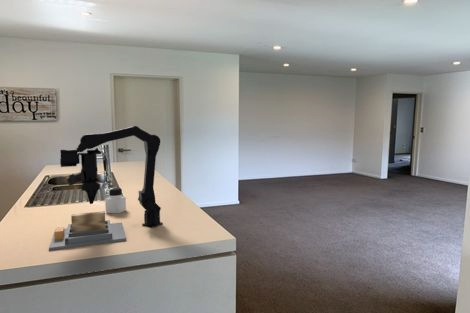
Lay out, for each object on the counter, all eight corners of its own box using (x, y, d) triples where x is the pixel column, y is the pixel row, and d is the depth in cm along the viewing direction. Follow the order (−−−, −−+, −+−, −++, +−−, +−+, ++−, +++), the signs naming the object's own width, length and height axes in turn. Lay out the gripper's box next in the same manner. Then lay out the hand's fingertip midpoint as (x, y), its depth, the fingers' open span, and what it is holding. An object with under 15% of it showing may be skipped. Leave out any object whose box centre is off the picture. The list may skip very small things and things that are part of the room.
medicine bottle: (126, 210, 172) (125, 187, 171) (118, 213, 166) (117, 189, 164) (114, 209, 174) (113, 186, 173) (105, 212, 168) (104, 189, 166)
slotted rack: (121, 224, 148) (121, 215, 148) (126, 240, 128) (126, 230, 128) (55, 231, 138) (54, 222, 138) (48, 250, 118) (48, 239, 118)
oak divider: (105, 230, 137) (104, 211, 136) (105, 232, 134) (104, 213, 133) (72, 234, 132) (71, 214, 131) (72, 236, 129) (71, 216, 128)
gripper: (67, 164, 140) (70, 200, 141) (65, 169, 123) (68, 211, 124) (96, 162, 144) (98, 198, 146) (98, 167, 127) (100, 208, 129)
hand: (91, 203), depth 136 cm, fingers closed
